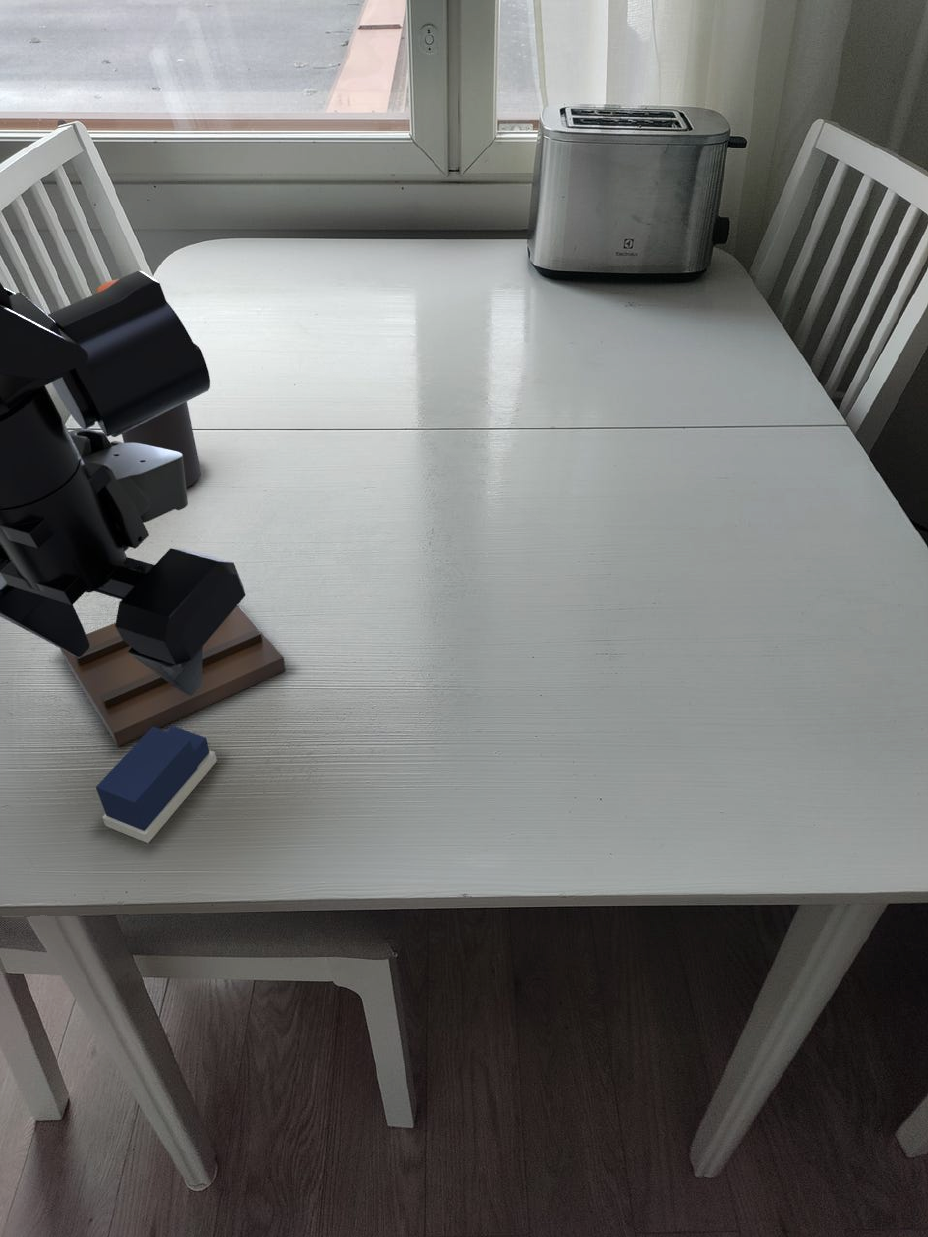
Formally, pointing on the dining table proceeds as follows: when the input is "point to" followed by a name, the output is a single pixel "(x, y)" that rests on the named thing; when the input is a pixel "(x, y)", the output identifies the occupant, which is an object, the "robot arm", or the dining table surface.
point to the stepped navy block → (153, 781)
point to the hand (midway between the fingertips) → (137, 670)
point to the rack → (147, 700)
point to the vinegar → (168, 432)
